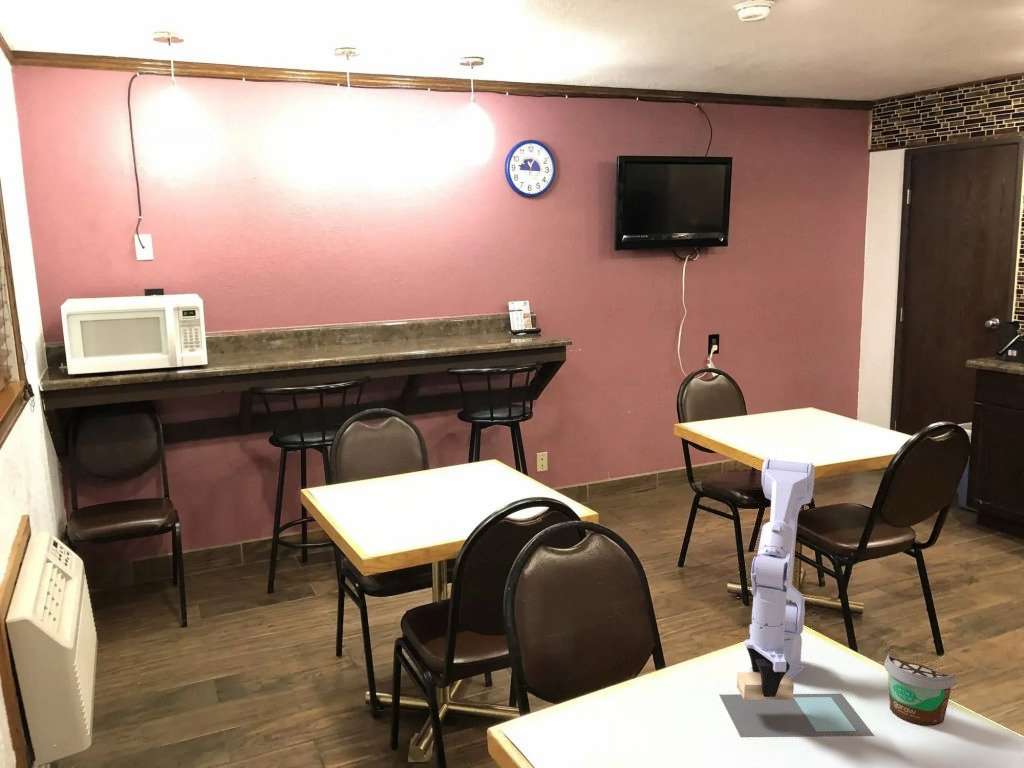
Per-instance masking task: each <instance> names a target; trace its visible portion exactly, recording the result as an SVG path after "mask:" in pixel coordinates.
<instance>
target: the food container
mask: <svg viewBox="0 0 1024 768" xmlns="http://www.w3.org/2000/svg"><path fill="white" fill-rule="evenodd" d="M883 664H884V669H885V671H886V672H887V673H888V674H887V675H888V697H889V698H888V701H889V710H890V711H891V712H892V714H893V715H895V716H896V717H897V718H898V719H900V720H902V721H904V722H907V723H910V724H913V725H917V726H923V727H934V726H939V725H941V724H942V723H944V721H945V718H946V713H947V708H948V704H949V701H950V700H949V699H950V695H951V691H952V688H953V687H955V686H956V685H957V678H956V677H957V676H955V672H952V673H951V674H950V675H949V674H945V673H941V672H939V671H936V670H933V669H932V668H929V667H927V666H925V665H922V664H919V663H913V662H909V661H904V660H901V659H897V658H895V657H892V656H891V652H888V654H887V656H886V657H885V661H884V663H883Z"/></svg>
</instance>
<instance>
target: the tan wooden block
mask: <svg viewBox="0 0 1024 768" xmlns="http://www.w3.org/2000/svg"><path fill="white" fill-rule="evenodd" d="M736 676H737V677H736V688H737V689H738V692H739V694H741V695H742V697H743V699H744V700H789V699H793V694H794V689H795V688H794V686H795V684H794V682H793V680H792V679H790V678H789V676H788V675H787V674H785V675H784V676H783V678H782V680H781V682H780V685H779V688H778V691H777V694H776V696H775V697H764V695H763V692H762V683H761V675H760V672H751V671H738V672H737V675H736Z"/></svg>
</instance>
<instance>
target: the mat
mask: <svg viewBox="0 0 1024 768" xmlns="http://www.w3.org/2000/svg"><path fill="white" fill-rule="evenodd" d="M719 697H720V700H721V702H722V703H723V705H724V708H725V710H726V711H727V713H728V715H729V717H730V719H731V721H732V723H733V725H734V727H735V729H736V730H737V733H738V735H739V737H740V738H790V737H793V738H798V737H799V738H801V737H804V738H805V737H816V738H817V737H875V734H874V733H873V731H872V730H871V729H870V728H869V727H868V725H867V724H866V723H865V722H864V721H863V719H862V718H861V717H860V715H859V714H858V713H857V711H855V708H853V706H852V705H851V704H850V703H849V701H848V700H847V699H846V697H845V696H844V695H843V693H793V699H789V700H744V699H743V697H742V695H741V694H740V693H739V694H729V693H728V694H719Z"/></svg>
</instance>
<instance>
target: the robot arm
mask: <svg viewBox="0 0 1024 768" xmlns="http://www.w3.org/2000/svg"><path fill="white" fill-rule="evenodd" d="M815 470H816V466H815V465H814V463H812V462H797V461H788V460H787V461H786V460H778V459H771V458H766V459H764V461H763V463H762V469H761V487H762V491H763V494H764V498H766V499H767V500H770V515H769V521H768V522H766V523H764V524H763V526H762V527H761V532H760V533H761V534H760V539H759V544H758V549H757V555H756V556H754V557H753V558H752V559H753V560H752V562H751V572H750V575H751V577H750V580H751V595H752V596H753V598H752V599H753V600H752V611H751V623H749V635H750V637H749V639H745V640H744V646H745V648H746V650H747V652H748V655H749V658H750V664H751V667H749V668H748V672H760V675H761V683H762V692H763V695H764V697H775V696H776V694H777V691H778V688H779V685H780V682H781V680H782V678H783V676H784V675H785V674H787V675H788V676H789V678H790V679H791V680H792V679H793V678H795V677H796V676H797V675H798V674H799V673H800V672H801V671H804V669H805V666H804V665H802V664H801V662H802V661H801V659H802V645H803V638H802V634H803V630H804V624H805V610H806V608H805V607H806V606H805V602H806V600H805V597H804V595H803V594H802V593H801V592H800V591H799V590H798V589H797V588H796V587H795V586H794V585H793V577H794V576H793V574H794V565H795V564H794V563H795V554H796V553H795V552H796V551H795V550H796V540H797V539H796V538H797V530H798V529H797V528H798V516H799V513H800V510H801V508H802V506H804V505H808V504H811V502H812V499H813V496H814V495H813V493H814V487H815V485H814V484H815V477H816V476H815V472H816V471H815ZM787 600H789V601H787Z"/></svg>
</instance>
